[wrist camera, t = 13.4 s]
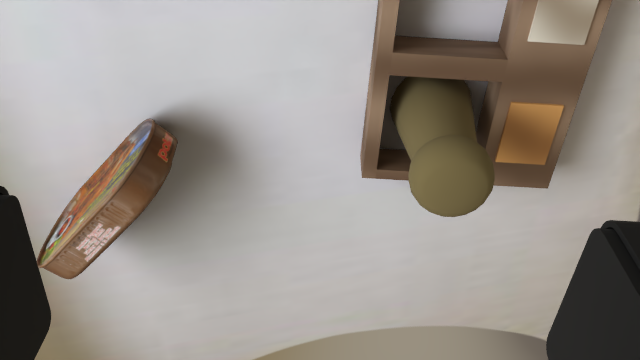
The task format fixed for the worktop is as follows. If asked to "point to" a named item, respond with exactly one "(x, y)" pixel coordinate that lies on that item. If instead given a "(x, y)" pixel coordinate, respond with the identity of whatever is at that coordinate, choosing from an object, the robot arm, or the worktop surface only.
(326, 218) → the worktop surface
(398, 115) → the olive piece
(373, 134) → the socket block
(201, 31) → the worktop surface
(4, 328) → the robot arm
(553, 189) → the worktop surface
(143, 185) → the tin
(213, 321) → the worktop surface
